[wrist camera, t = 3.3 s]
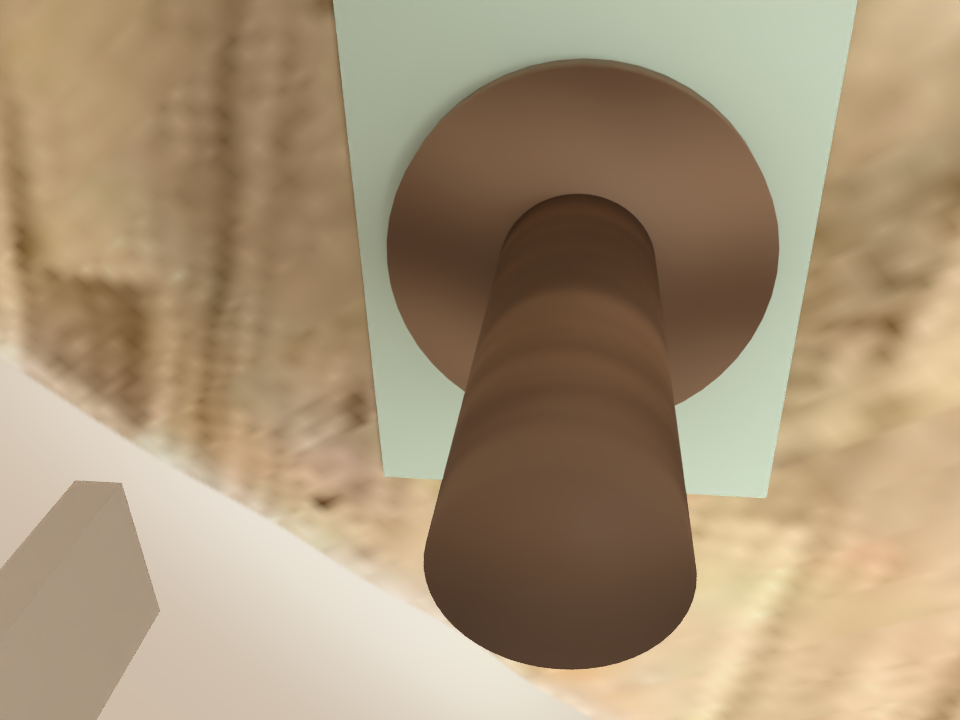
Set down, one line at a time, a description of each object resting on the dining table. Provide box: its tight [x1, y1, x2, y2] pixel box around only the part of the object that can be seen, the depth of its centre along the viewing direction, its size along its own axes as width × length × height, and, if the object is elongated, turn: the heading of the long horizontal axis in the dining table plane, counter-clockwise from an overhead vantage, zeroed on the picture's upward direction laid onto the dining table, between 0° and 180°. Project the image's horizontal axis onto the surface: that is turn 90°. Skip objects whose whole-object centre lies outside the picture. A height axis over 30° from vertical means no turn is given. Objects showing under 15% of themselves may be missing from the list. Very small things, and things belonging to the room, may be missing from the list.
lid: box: [387, 58, 779, 669], centre depth 18 cm, size 10×10×12 cm
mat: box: [333, 0, 858, 498], centre depth 23 cm, size 16×12×1 cm
